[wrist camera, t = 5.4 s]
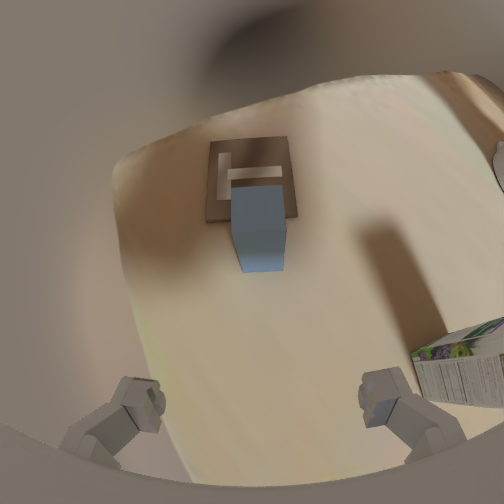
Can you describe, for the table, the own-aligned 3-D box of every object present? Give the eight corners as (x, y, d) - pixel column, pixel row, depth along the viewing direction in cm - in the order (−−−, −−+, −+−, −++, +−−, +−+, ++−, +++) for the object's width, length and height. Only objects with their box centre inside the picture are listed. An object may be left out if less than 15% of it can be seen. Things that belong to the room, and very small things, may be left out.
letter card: (286, 139, 36) (286, 135, 35) (297, 217, 31) (297, 214, 30) (211, 144, 36) (210, 141, 36) (206, 222, 32) (205, 219, 31)
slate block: (280, 234, 30) (281, 184, 22) (283, 270, 29) (286, 229, 20) (242, 236, 31) (231, 187, 22) (243, 272, 29) (230, 233, 21)
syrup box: (448, 331, 25) (543, 295, 11) (462, 378, 22) (558, 367, 9) (409, 353, 24) (505, 331, 11) (423, 403, 22) (520, 412, 9)
